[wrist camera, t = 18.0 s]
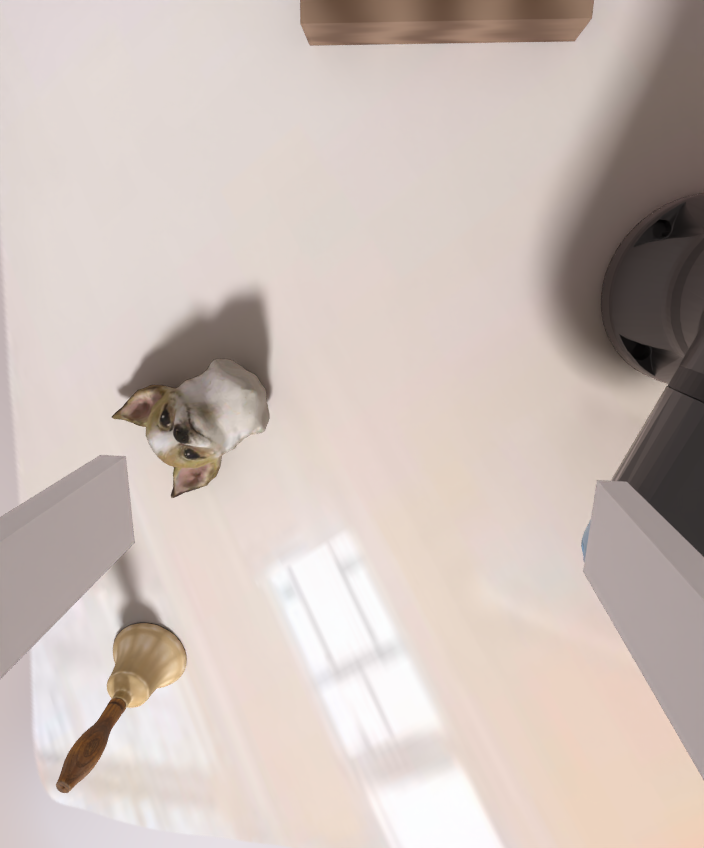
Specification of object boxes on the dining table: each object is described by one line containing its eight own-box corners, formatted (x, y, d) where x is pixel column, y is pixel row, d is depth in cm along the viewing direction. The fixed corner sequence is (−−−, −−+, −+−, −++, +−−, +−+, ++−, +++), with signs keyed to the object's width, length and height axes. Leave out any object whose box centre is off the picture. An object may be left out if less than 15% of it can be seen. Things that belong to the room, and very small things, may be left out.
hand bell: (186, 691, 61) (113, 831, 46) (114, 679, 62) (19, 814, 47) (187, 628, 59) (111, 754, 44) (113, 616, 60) (12, 737, 44)
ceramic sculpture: (284, 451, 43) (145, 532, 47) (309, 419, 51) (189, 490, 55) (204, 334, 41) (68, 430, 45) (243, 320, 49) (125, 402, 53)
